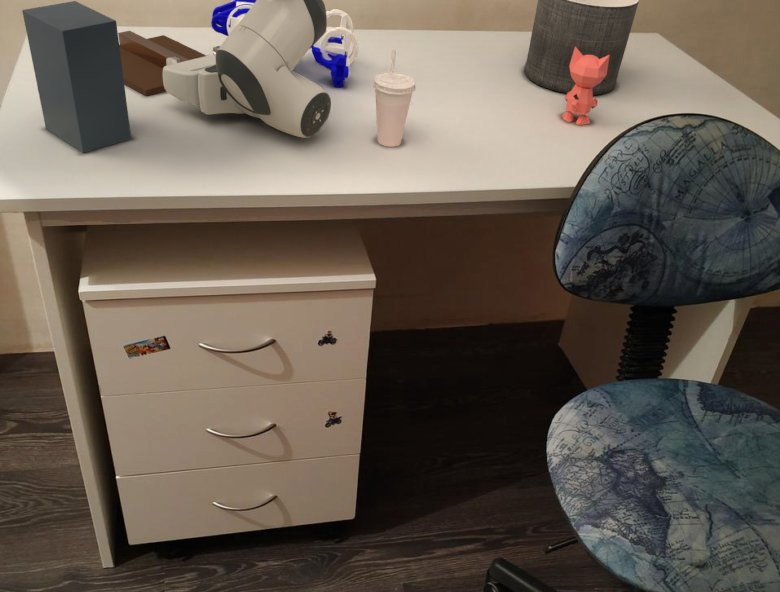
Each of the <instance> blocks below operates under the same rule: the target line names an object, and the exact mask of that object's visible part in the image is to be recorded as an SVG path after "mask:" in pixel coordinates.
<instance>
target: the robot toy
mask: <svg viewBox="0 0 780 592" xmlns="http://www.w3.org/2000/svg"><path fill="white" fill-rule="evenodd" d="M255 2H256V0H230V2H226V3H224V4H222V5H219V6H216V7H215V8H214V9H213V10H212V15H211V16H212V17H211V20H210V21H211V23H210V25H211V28H212V30H213V31H214V32H215V33H218V34H221V35H224V36H226V37H228V36H229V34H230V33H231V32H232V30H233V29H234V28H235V27H236V26H237V25H238V24H239V22H240V21H241V20H242V19H243V17H244V16H245V15H246V14H247V12H248V11H249V10H250V8H251V7H252V6H253V5H254V3H255ZM326 16H327V19H329V18H331V17H334V16H338V17H340V23H339V26H336V27H334V26H327V28H326V32H325V33H324V35H323V36H322V37H321V38H320V39H319V40H318V41H317V42H316V43H315V44H314V45H313V46H312V47H311V48H310V49H311V53H312V55H313V59H314V61H315V63H317V64H319V65H320V66H322V67H324V68H326V69H328V70H330V77H331V82H332V85H333V87H335V88H342V87H344V84H345V80H346V79H349V78H350V64H352V63H354V61H355V60H356V58H357V57H358V54H359V42H358V38H357V36H356V35H355V34H354V32H355V26H354V24H353V20H352V18H351V16H350V15H349V14H348V12H345V11H343V10H341V9H337V8H335V9H331V10H330V11H329V10H326ZM347 25H348V28H347ZM351 42H352V51H351V54H350V55H349V52H350V49H351Z"/></svg>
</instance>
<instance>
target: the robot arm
mask: <svg viewBox="0 0 780 592" xmlns="http://www.w3.org/2000/svg"><path fill="white" fill-rule="evenodd" d="M326 12H327V9H326V5H325V2H324V1H323V0H256V2H255V3H254V5H253V6H252V7H251V8H250V10H249V11H248V12H247V14H246V15H245V16H244V17H243V19H242V20H241V21H240V22H239V24H238V25H237V26H236V27H235V28H234V29H233V30H232V32H231V33H230V34H229V36H226V38H225V40H224V41H223V42H222V43H221V45H216V46H214V47H212V51H213V52H212V54H208V55H206V56H204V57H200V58H196V59H192V60H188V61H184V62H180V59H179V58H176V57H170V58H167V59H166V63H167V66H165V67H164V68H163V84H164V88H165V90H166V91H165V92H166V93H168V95H170V96H172V97H174V98H176V99H178V100H180V101H182V102H184V103H186V104H188V105H192V106H196V107H199V108H200V111H201V112H202V113H203V114H205V115H219V114H239V115H245V114H246V115H248V116H250V117H253V118H257V119H261V121H262V122H264V124H266V125H268V126H269V127H272V128H273V129H276V130H278V131H279V132H280V131H281V132H282V133H285V134H288V135H290V136H294V137H297V138H302V139H304V138H305V139H308V138H311V137H313V136H315V135H317V133H319V131H320V130H321V129H322V128H323V126H324V125H325V123H326V122H327V120H328V119H329V116H330V113H331V109H332V98H331V95H330V94H329V92H327V90H325V89H324V88H323V87H321V86H320V85H318V84H317V83H316V82H314V81H312V80H311V79H309V78H307V77H305V76H304V75H302V74H300V73H298V72H296V71H294V69H295V68H296V66H297V65H298V64H299V63H300V62H301V60H302V59H303V57H304V56H305V55H306V53H308V51H309V50H310V49H312V48H311V47H312V46H313V45H314V44H315V43H316V42H317V41H318V40H319V39H320V38H321V37H322V36H323V35H324V33H325V32H326V28H327V27H328V18H327V16H326Z"/></svg>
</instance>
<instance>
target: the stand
mask: <svg viewBox="0 0 780 592" xmlns="http://www.w3.org/2000/svg"><path fill="white" fill-rule="evenodd" d="M21 12H22V16H23V22H24V26H25V32H26V36H27V41H28V46H29V51H30V56H31V62H32V66H33V71H34V75H35V81H36V87H37V92H38V95H39V101H40V106H41V111H42V117H43V121H44V126H45V130H47V131H48V132H50V133H51V134H53V135H54V136H56V137H57V138H59V139H61V140H62V141H64V142H65V143H66V144H68V145H70V146H72V147H73V148H75V149H76V150H78V151H79V152H81V153H83V154H85V153H88V152H91V151H96V150H98V149H102V148H105V147H109V146H112V145H116V144H119V143H122V142H126V141H128V140H129V141H130V140H132V133H131V127H130V118H129V110H128V102H127V94H126V87H125V86H126V85H125V84H124V78H123V71H122V63H121V55H120V47H119V45H120V43H119V35H118V33H119V32H118V23H117V20H115V19H113V18H111V17H109V16H107V15H105V14H103V13H101V12H99V11H96V10H95V9H92V8H91V7H89V6H87V5H85V4H83V3H81V2H79V1H76V0H73V1H67V2H61V3H56V4H55V3H54V4H49V5H44V6H37V7H32V8H31V7H30V8H26V9H22V10H21Z"/></svg>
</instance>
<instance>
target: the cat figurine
mask: <svg viewBox="0 0 780 592" xmlns="http://www.w3.org/2000/svg"><path fill="white" fill-rule="evenodd" d="M609 57H610V55H608V56H606V57H603V58H601V59H598V57H596V56H594V55H582V54H581V52H580V51H579V50H578V49H577V48H576V47H575V48H574V52H573V55H572V58H571V62H570V65H569V67H570V73H571V77H572V79H573V80H574V82H575V83H576V84H575V86H574V87H573V89H572V90H571V91H570V92H568V93H565V96H564V100H565V101H566V107H565V108H566V109H565V110H566V111H565V112H564V113H563V114H562V115H561V117H562V119H563V120H564V121H565V122H567V123H572V122H574V118H575V117H574V114H575V115H578V118H577V119H576V120H575V125H577V126H583V125H589V124H591V120H590V116H588V115H587V114H589V113H591V110H593V109H594V108H596V107H598V103H599V102H598V101H599V100H598V98H597V97H596V96H594V95H593V92H592V87H594V86H596V85H597V84H599V83H601V82H602V80H603V79H604V78H605V76H606V75H607V69H608V63H609ZM603 81H605V80H603ZM605 82H606V81H605Z"/></svg>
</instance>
